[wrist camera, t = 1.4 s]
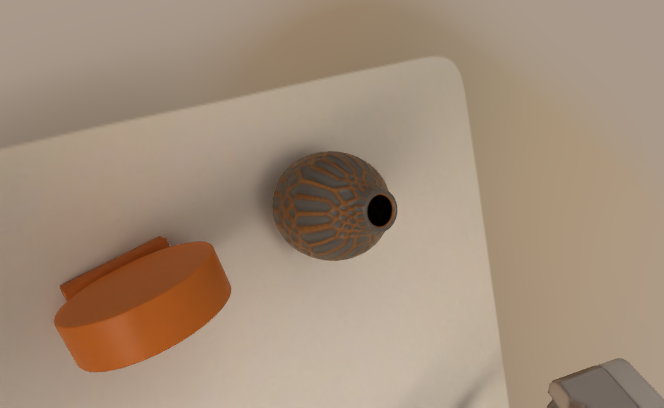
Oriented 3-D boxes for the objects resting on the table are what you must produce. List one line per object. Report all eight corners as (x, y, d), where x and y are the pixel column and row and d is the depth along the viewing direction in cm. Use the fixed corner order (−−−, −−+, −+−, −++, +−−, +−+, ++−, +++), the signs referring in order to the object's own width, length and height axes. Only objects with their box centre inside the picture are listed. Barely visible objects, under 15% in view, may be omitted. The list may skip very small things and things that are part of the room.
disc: (195, 271, 34) (259, 300, 26) (66, 342, 30) (96, 401, 22) (175, 227, 33) (235, 245, 25) (39, 295, 29) (61, 340, 21)
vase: (356, 223, 40) (441, 235, 33) (281, 271, 37) (357, 296, 29) (322, 137, 38) (404, 129, 31) (240, 179, 35) (310, 181, 27)
